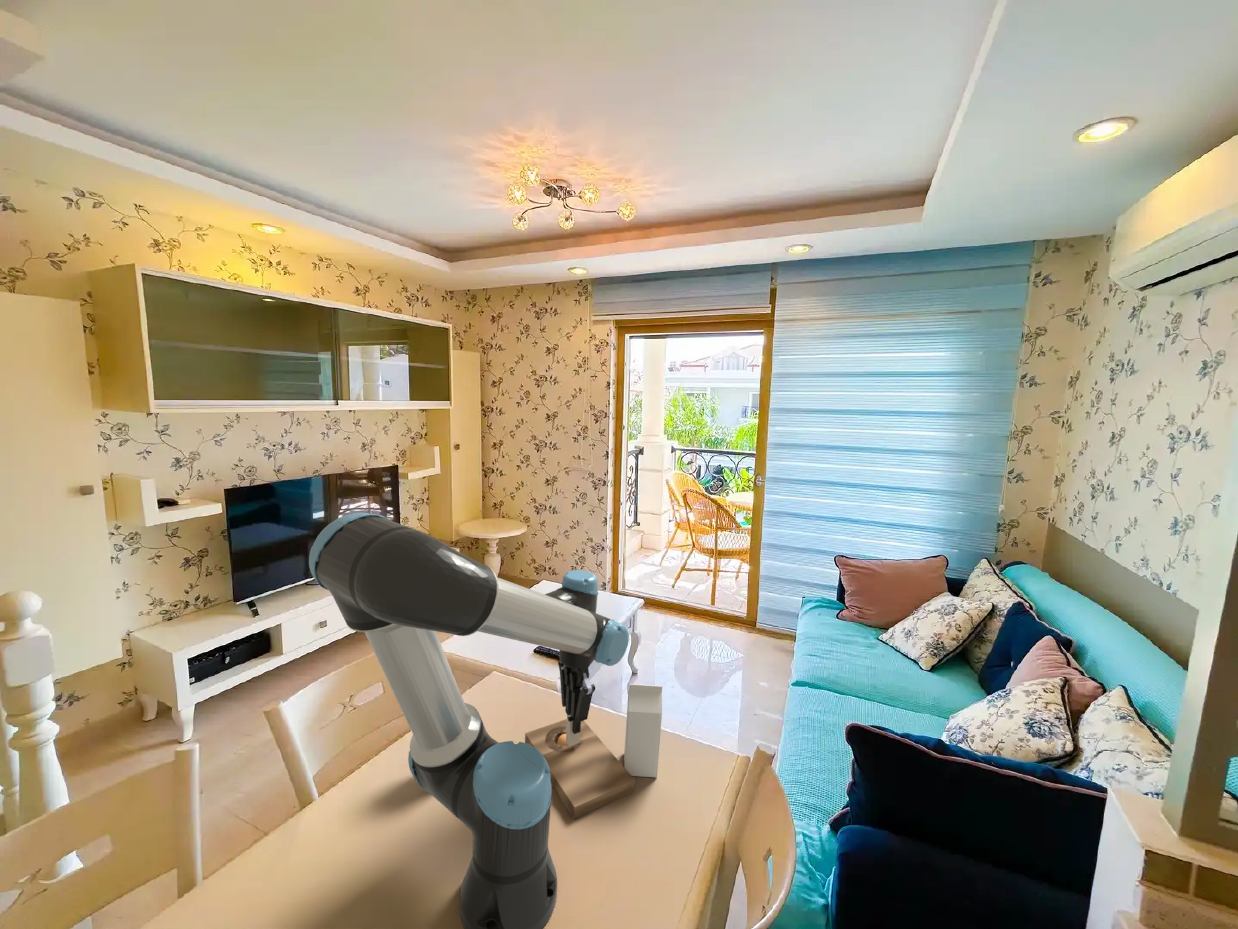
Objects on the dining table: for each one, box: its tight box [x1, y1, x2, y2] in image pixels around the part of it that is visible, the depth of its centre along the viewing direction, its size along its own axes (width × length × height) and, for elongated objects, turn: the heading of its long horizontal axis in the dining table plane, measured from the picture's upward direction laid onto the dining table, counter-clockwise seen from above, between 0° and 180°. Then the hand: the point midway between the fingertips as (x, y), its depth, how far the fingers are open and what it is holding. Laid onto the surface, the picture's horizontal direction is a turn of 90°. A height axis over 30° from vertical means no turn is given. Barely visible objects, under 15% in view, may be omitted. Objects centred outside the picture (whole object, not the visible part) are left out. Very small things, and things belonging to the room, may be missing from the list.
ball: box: [557, 734, 568, 746], centre depth 113 cm, size 4×4×4 cm
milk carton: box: [623, 683, 663, 778], centre depth 109 cm, size 7×7×19 cm
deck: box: [524, 718, 636, 820], centre depth 109 cm, size 24×14×2 cm, turn 33°
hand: (572, 742), depth 111 cm, fingers closed
